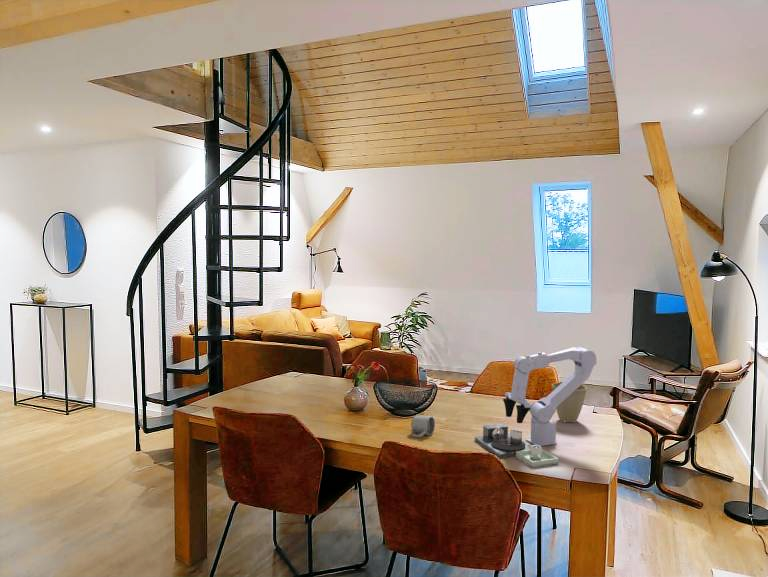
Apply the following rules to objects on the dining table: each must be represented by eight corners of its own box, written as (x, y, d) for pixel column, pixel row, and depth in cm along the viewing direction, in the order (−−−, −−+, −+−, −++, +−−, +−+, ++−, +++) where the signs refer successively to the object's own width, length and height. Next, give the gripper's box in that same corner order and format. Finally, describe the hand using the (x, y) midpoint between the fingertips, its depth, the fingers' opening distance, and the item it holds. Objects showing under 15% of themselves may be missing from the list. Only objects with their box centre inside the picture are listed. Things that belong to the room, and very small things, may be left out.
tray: (540, 453, 219) (540, 448, 219) (558, 463, 209) (558, 458, 208) (515, 456, 216) (515, 451, 215) (532, 467, 205) (532, 462, 205)
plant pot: (587, 426, 251) (588, 391, 250) (552, 424, 254) (553, 389, 253) (582, 416, 266) (584, 382, 265) (549, 414, 269) (550, 381, 267)
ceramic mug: (418, 429, 247) (418, 411, 246) (435, 432, 243) (435, 414, 242) (406, 436, 238) (406, 418, 237) (424, 440, 234) (424, 421, 233)
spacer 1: (517, 439, 227) (518, 428, 227) (524, 443, 223) (524, 432, 223) (508, 441, 226) (508, 429, 226) (514, 444, 222) (514, 433, 221)
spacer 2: (538, 456, 214) (538, 444, 214) (543, 460, 210) (544, 448, 210) (527, 457, 214) (527, 445, 213) (532, 461, 209) (533, 449, 209)
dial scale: (509, 436, 238) (509, 422, 237) (536, 453, 219) (537, 438, 219) (474, 440, 233) (475, 426, 232) (499, 458, 214) (500, 442, 213)
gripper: (500, 381, 234) (495, 413, 235) (521, 391, 220) (516, 425, 221) (515, 382, 236) (510, 414, 237) (536, 392, 223) (531, 426, 224)
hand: (513, 419), depth 229 cm, fingers open, 7 cm apart
